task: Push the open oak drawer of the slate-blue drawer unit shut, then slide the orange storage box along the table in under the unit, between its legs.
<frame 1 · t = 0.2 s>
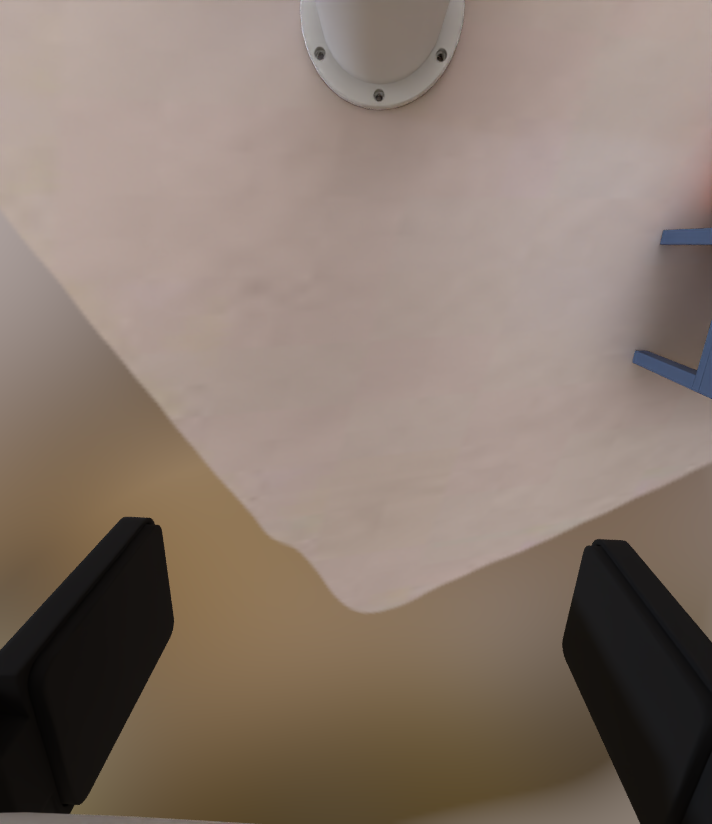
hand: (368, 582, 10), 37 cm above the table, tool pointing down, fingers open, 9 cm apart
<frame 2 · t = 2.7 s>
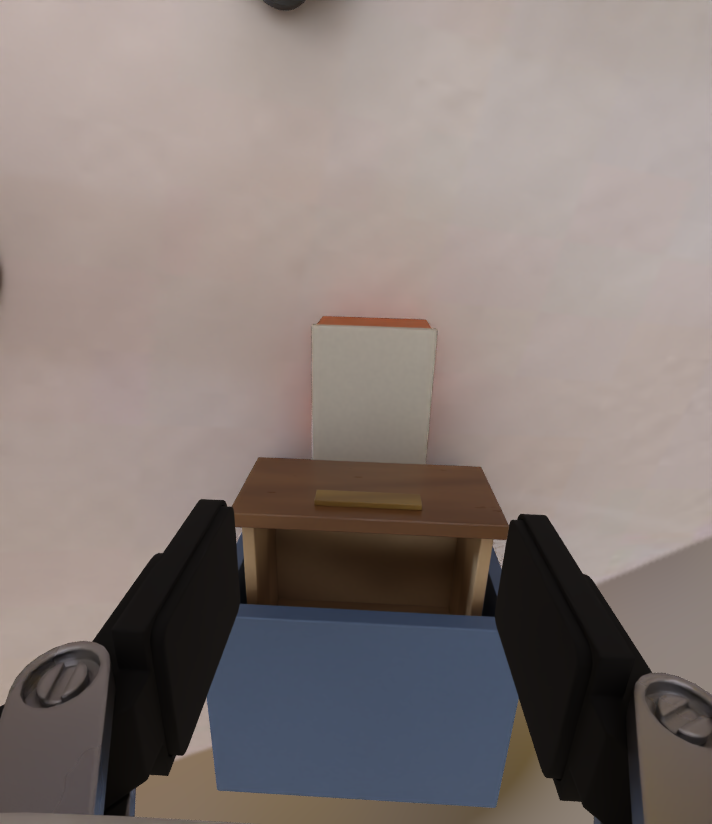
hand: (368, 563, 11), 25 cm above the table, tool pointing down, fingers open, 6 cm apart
storage box: (371, 384, 35), on the table
drawer: (365, 565, 25), point 13 cm above the table, slide at 5.0 cm
drawer unit: (365, 525, 39), on the table
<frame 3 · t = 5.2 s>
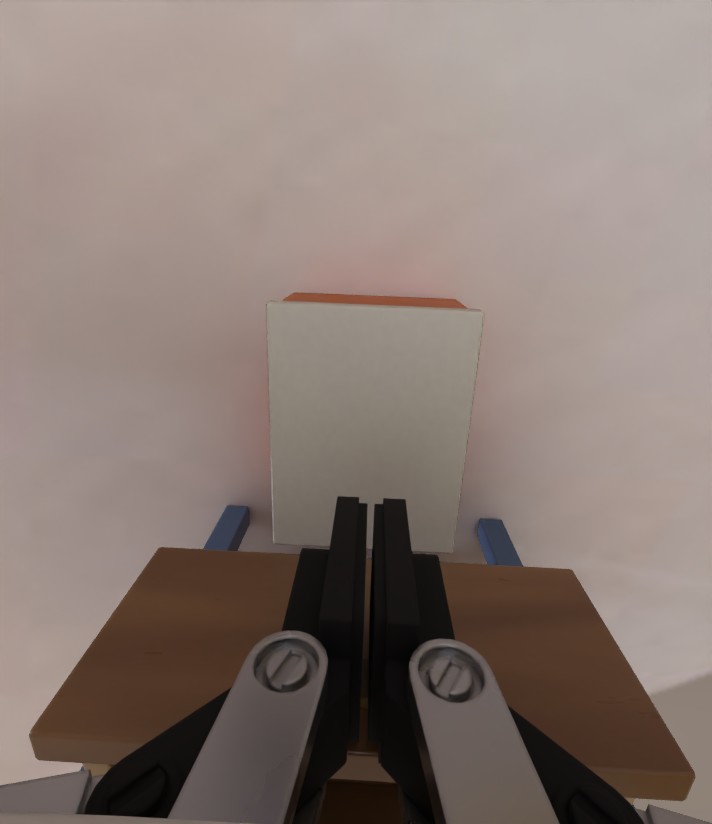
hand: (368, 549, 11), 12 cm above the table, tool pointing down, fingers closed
storage box: (369, 398, 23), on the table
drawer: (354, 765, 13), point 13 cm above the table, slide at 4.8 cm, touching gripper
drawer unit: (359, 599, 27), on the table
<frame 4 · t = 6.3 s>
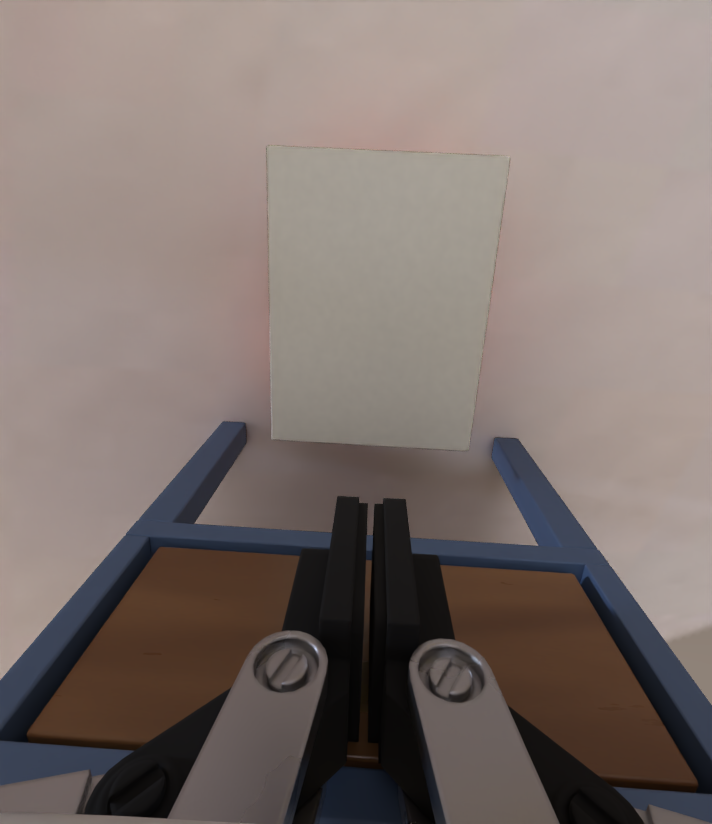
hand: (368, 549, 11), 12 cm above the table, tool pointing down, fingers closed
storage box: (377, 298, 21), on the table
drawer: (352, 768, 13), point 13 cm above the table, slide at -0.1 cm, touching gripper
drawer unit: (363, 530, 26), on the table
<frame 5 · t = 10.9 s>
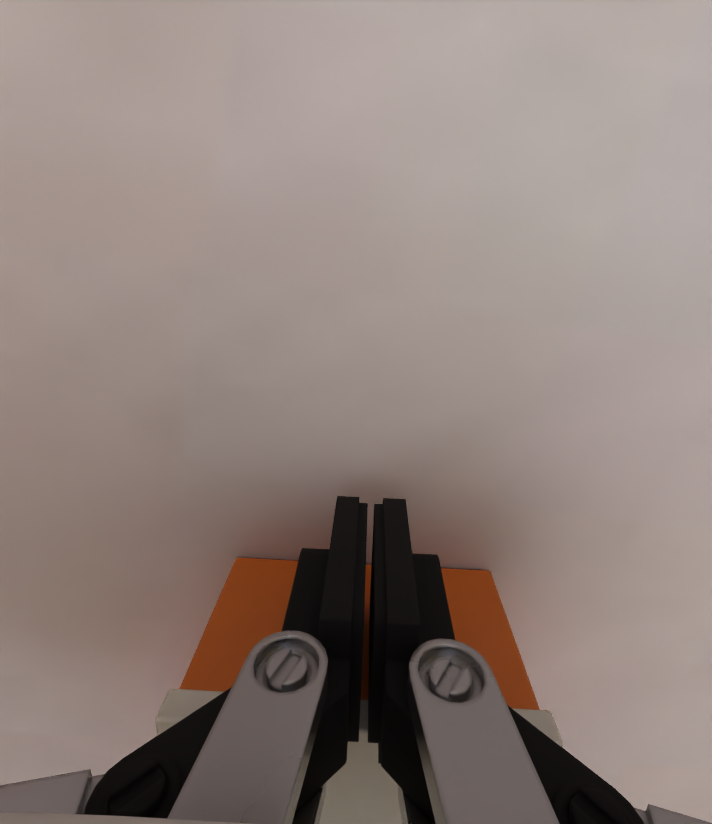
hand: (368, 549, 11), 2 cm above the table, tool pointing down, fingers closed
storage box: (356, 687, 15), on the table, touching gripper
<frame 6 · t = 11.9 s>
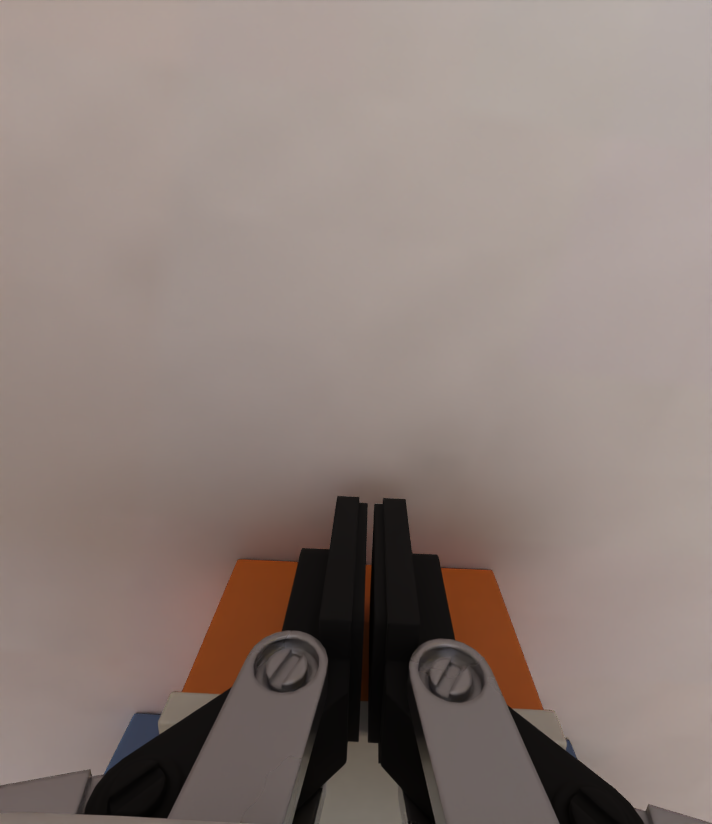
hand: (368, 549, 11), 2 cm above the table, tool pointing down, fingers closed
storage box: (359, 688, 15), on the table, touching gripper
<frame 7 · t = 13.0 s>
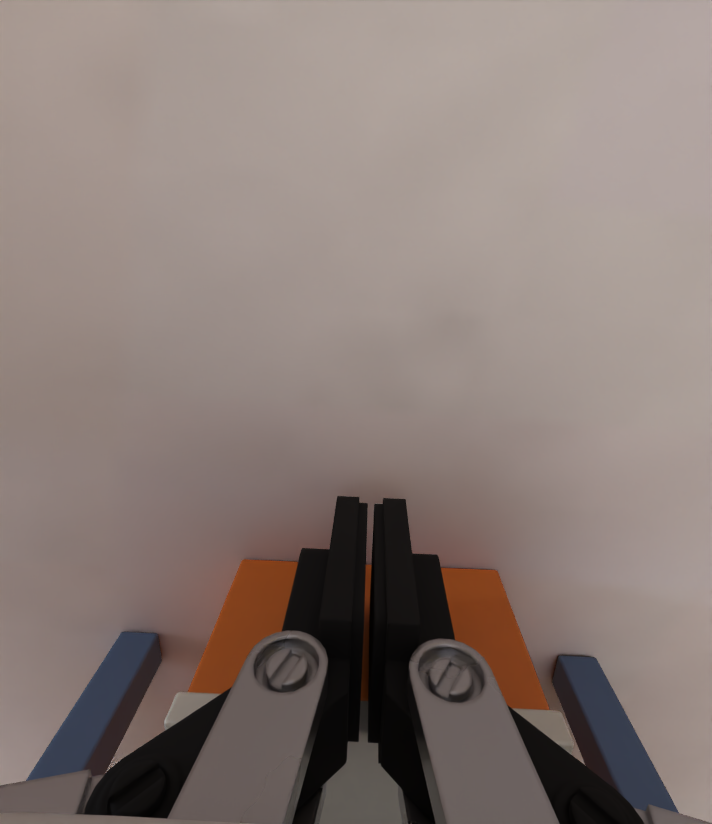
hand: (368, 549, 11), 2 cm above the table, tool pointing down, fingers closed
storage box: (363, 688, 15), on the table, touching gripper
drawer unit: (350, 770, 17), on the table
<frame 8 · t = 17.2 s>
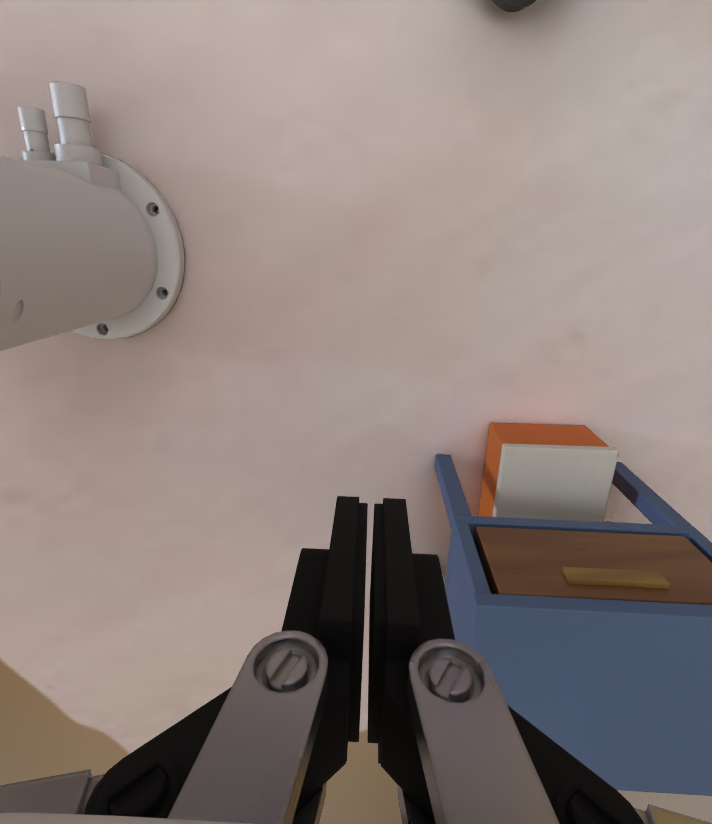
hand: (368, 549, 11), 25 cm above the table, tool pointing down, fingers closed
storage box: (528, 479, 38), on the table
drawer: (583, 629, 27), point 13 cm above the table, slide at 0.0 cm
drawer unit: (517, 521, 40), on the table
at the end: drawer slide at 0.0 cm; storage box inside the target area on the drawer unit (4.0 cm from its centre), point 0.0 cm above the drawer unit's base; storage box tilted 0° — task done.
